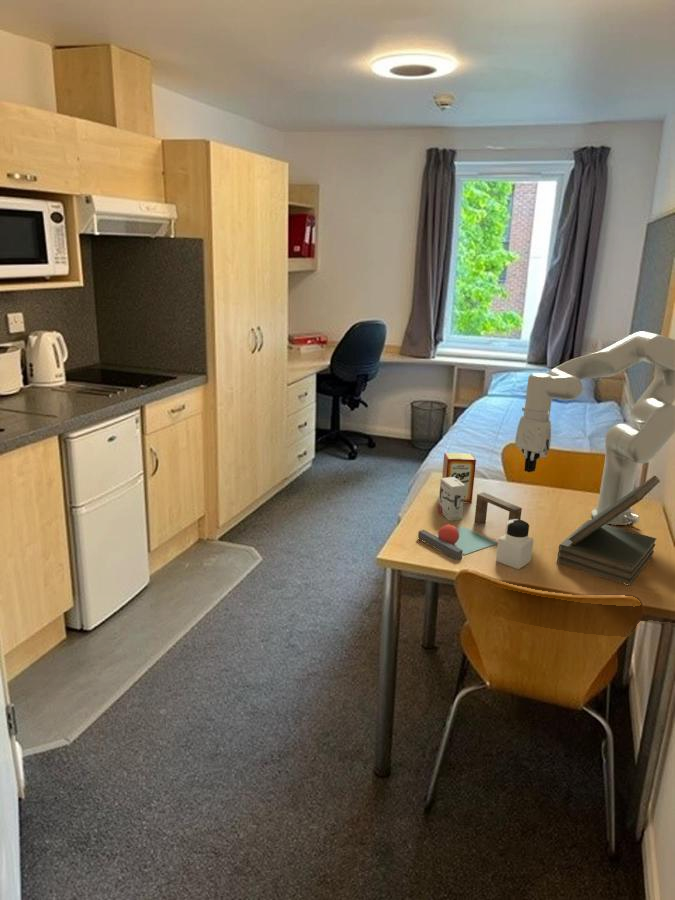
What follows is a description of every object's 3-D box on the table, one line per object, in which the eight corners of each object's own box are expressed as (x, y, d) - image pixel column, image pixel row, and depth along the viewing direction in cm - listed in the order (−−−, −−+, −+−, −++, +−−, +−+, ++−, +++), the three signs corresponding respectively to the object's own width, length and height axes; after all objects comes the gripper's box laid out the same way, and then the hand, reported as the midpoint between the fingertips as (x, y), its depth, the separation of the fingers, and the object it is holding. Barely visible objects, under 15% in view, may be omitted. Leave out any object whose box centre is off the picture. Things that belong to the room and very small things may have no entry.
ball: (455, 552, 188) (466, 535, 189) (445, 542, 184) (457, 525, 185) (440, 544, 193) (451, 527, 194) (430, 534, 189) (442, 518, 190)
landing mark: (497, 543, 191) (497, 543, 191) (464, 555, 184) (464, 554, 183) (463, 526, 202) (463, 526, 202) (430, 537, 194) (430, 536, 194)
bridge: (480, 520, 207) (483, 492, 204) (518, 537, 196) (521, 508, 193) (474, 522, 206) (477, 494, 203) (511, 540, 194) (515, 510, 191)
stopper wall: (461, 558, 182) (462, 550, 181) (456, 560, 181) (457, 551, 180) (423, 537, 194) (423, 529, 193) (418, 538, 193) (418, 531, 192)
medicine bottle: (531, 561, 181) (536, 522, 177) (518, 570, 176) (523, 529, 172) (508, 553, 186) (512, 514, 182) (495, 561, 181) (499, 521, 177)
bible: (584, 538, 198) (597, 460, 190) (653, 558, 186) (669, 476, 179) (556, 564, 181) (568, 480, 173) (629, 588, 169) (645, 499, 162)
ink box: (436, 510, 214) (439, 477, 210) (450, 509, 215) (453, 476, 212) (448, 521, 206) (452, 486, 203) (462, 519, 208) (466, 485, 204)
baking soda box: (467, 495, 228) (471, 452, 223) (471, 503, 222) (476, 458, 217) (440, 495, 227) (444, 452, 223) (444, 502, 221) (448, 457, 216)
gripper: (509, 410, 201) (503, 466, 206) (549, 421, 189) (541, 480, 195) (525, 407, 205) (518, 462, 211) (565, 418, 194) (557, 475, 199)
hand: (529, 470), depth 203 cm, fingers closed
